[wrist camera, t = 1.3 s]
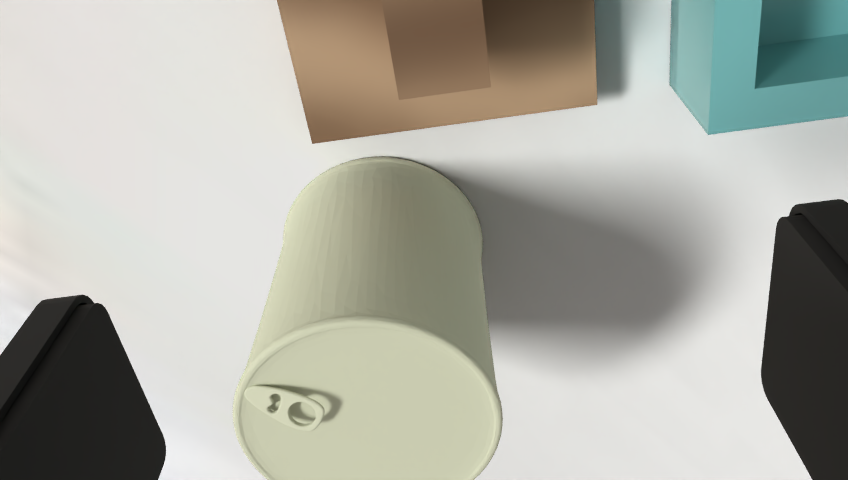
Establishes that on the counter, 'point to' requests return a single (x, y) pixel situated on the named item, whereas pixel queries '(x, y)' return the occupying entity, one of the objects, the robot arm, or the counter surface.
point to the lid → (436, 61)
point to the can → (373, 335)
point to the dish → (759, 61)
